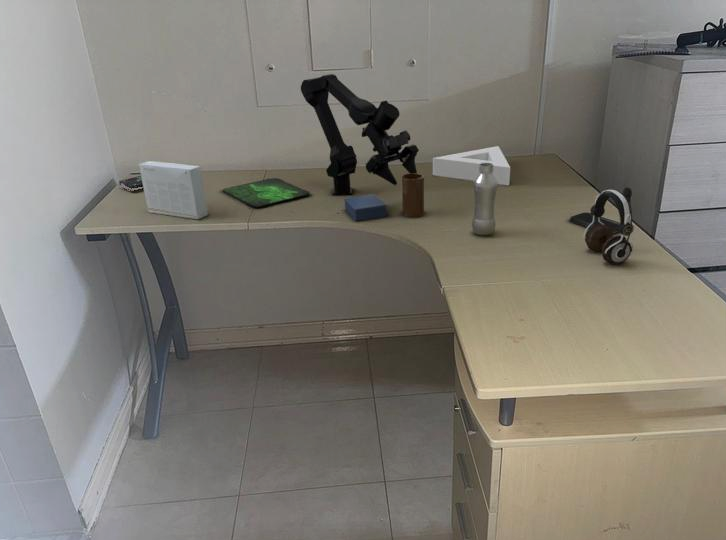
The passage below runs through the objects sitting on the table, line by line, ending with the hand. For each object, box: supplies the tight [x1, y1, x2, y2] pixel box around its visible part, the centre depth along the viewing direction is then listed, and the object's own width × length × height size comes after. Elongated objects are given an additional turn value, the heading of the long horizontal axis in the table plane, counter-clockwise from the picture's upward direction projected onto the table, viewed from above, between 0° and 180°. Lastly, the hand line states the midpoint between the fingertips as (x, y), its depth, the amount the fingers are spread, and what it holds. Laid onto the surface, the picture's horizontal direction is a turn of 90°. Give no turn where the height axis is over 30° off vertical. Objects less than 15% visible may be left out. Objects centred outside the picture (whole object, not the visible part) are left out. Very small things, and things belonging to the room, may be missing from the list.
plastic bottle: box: [471, 163, 498, 236], centre depth 180 cm, size 6×7×20 cm
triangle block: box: [432, 145, 511, 186], centre depth 235 cm, size 30×26×6 cm
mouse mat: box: [221, 177, 311, 208], centre depth 224 cm, size 27×22×1 cm
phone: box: [569, 211, 620, 235], centre depth 188 cm, size 8×1×15 cm
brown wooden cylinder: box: [401, 172, 425, 219], centre depth 198 cm, size 7×7×12 cm
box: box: [343, 193, 388, 222], centre depth 202 cm, size 11×10×4 cm
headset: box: [583, 186, 635, 265], centre depth 163 cm, size 17×8×20 cm, turn 13°
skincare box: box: [138, 160, 209, 220], centre depth 204 cm, size 21×5×16 cm, turn 65°
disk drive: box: [118, 175, 144, 193], centre depth 235 cm, size 10×3×15 cm
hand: (406, 181), depth 198 cm, fingers open, 9 cm apart
